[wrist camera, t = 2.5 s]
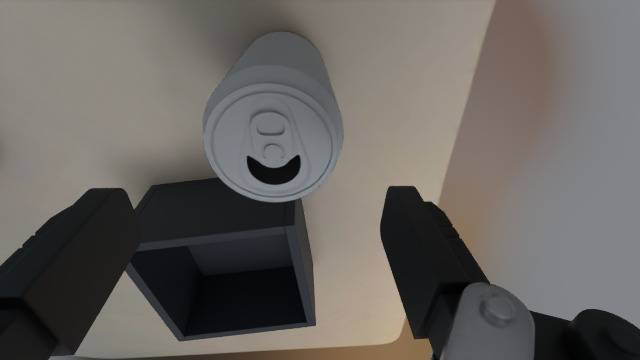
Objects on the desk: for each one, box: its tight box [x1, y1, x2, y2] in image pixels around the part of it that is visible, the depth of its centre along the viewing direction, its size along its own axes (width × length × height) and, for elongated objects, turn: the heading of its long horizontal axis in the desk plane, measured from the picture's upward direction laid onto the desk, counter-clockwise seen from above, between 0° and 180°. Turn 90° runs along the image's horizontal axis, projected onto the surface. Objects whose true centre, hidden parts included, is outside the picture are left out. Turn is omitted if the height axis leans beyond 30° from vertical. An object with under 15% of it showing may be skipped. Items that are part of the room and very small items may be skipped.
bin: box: [125, 178, 316, 341], centre depth 28 cm, size 14×14×8 cm
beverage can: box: [203, 31, 344, 202], centre depth 17 cm, size 6×6×12 cm
